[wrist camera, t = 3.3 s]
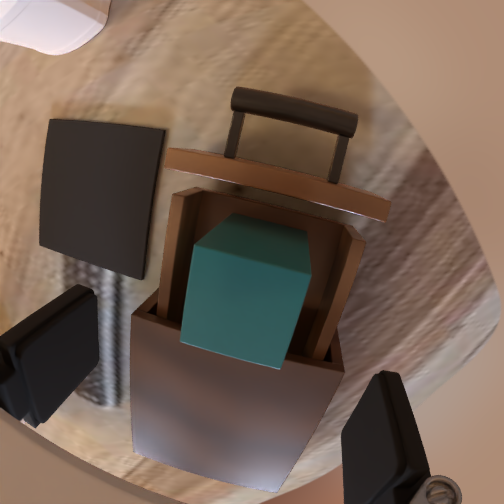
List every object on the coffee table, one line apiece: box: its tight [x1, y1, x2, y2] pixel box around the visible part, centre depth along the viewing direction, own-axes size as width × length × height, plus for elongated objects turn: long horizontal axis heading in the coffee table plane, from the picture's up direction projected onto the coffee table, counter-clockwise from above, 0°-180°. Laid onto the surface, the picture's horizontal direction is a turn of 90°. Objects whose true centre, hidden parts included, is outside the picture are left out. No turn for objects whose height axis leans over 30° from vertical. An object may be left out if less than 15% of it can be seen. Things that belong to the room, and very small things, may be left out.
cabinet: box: [130, 288, 345, 493], centre depth 24 cm, size 16×14×7 cm
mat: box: [39, 119, 165, 280], centre depth 24 cm, size 12×12×1 cm
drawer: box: [157, 87, 391, 361], centre depth 20 cm, size 19×12×5 cm, turn 167°
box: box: [180, 213, 312, 369], centre depth 18 cm, size 5×5×8 cm
